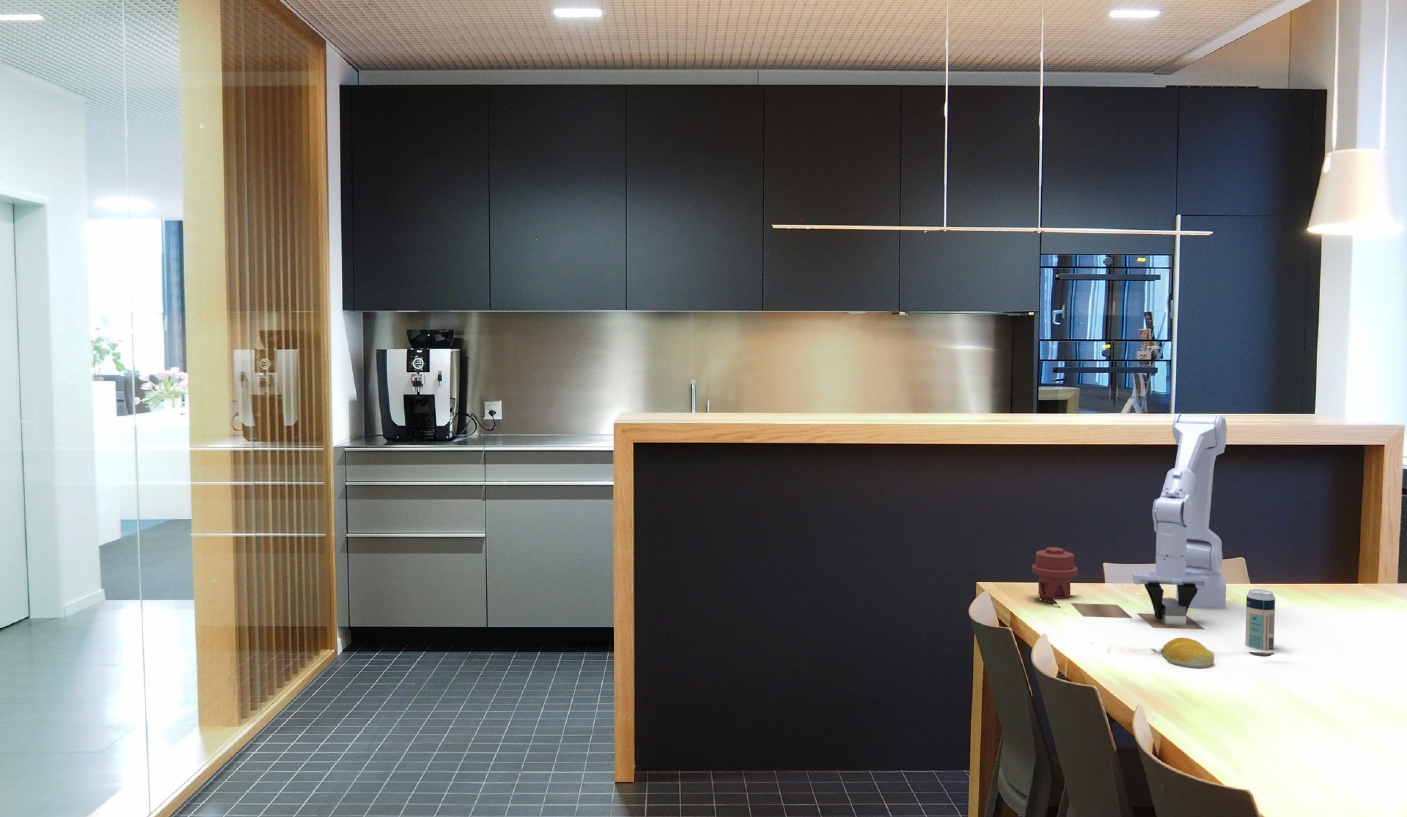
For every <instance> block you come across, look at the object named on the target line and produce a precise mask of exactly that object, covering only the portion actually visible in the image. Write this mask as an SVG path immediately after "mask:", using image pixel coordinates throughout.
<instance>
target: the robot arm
mask: <svg viewBox="0 0 1407 817" xmlns="http://www.w3.org/2000/svg"><path fill="white" fill-rule="evenodd" d="M1227 432H1228V428H1227V420H1226V418H1225V417H1224V416H1223V415H1222V414H1218V415H1212V414H1209V415H1208V414H1185V413H1184V414H1182V413H1177V414H1176V416H1174V418H1173V422H1172V436H1173V438H1174V440H1175V444H1176V445H1177V446H1178V447H1177V453H1176V459H1175V465H1174V468H1171V469H1170V470H1168V471H1167V474H1166V477H1165V479H1164V480H1165V481H1164V482H1163V487H1162V490H1161V493H1160V497H1158V498H1156V499H1154V501H1153V503H1152V504H1153V505H1152V512H1151V513H1152V521H1153V531H1154V532H1156V538H1155V540H1156V541H1155V572H1139V573H1138V572H1137V573H1132V583H1133V584H1134V585H1144V588H1145V589H1146V591H1147V593H1148V596H1149V598H1150V601H1151V604H1152V607H1153V614H1154V613H1155V617H1156V618H1157V619H1161V618H1162V598H1164V597H1163V596H1164V592H1165V590H1164V589H1163V588H1162V585H1170V586H1171V585H1172V586H1176V590H1175V591H1176V592H1175V596H1176V597H1175V599H1176V600H1178V601H1179V602H1180V603H1182V604H1183V605H1184V606H1186V615H1187V613H1188V610H1189V609H1197V610H1198V609H1202V610H1203V609H1217V610H1218V609H1220V610H1222V609H1223V610H1226V607H1227V606H1226V604H1227V602H1226V601H1227V583H1226V579H1225V576H1224V575H1223V574H1222V572H1220V569H1221V567H1222V562H1223V550H1222V546H1223V544H1222V543H1223V542H1222V540H1221V537H1219V535H1217V534H1216V533H1215V532H1214V531H1212V530H1211V529H1210V528H1209V527H1210V518H1211V516H1210V514H1211V506H1212V505H1211V503H1212V492H1213V481H1214V469H1215V468H1214V467H1215V463H1216V462H1215V461H1216V458H1217V456H1218V455H1221V454H1224V453H1225V448H1226V446H1227V445H1226V444H1227ZM1188 540H1190V541H1188ZM1198 541H1199V542H1198ZM1205 542H1206V543H1205ZM1207 542H1208V543H1207Z"/></svg>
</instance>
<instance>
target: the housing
mask: <svg viewBox="0 0 1407 817" xmlns="http://www.w3.org/2000/svg"><path fill="white" fill-rule="evenodd" d="M1153 614H1154V616H1155V613H1154V612H1153ZM1186 615H1187V614H1186V606H1184V605H1183V604H1182V603H1180V602H1179V601H1178V600H1176V597H1175V598H1174V597H1163V598H1162V618H1161V619H1158V620H1159V621H1161V622H1162V623H1163V624H1164V625H1171V626H1186Z"/></svg>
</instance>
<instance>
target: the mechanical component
mask: <svg viewBox="0 0 1407 817" xmlns="http://www.w3.org/2000/svg"><path fill="white" fill-rule="evenodd" d="M1074 562H1075V555H1074V553H1072V552H1069V551H1065V549H1064V548H1061V547H1056V546H1055V547H1051V546H1050V547H1046V549H1042V550H1037V551H1036V552H1035V563H1033V564H1032V566H1031V572H1032V573H1033V574H1034V575H1036V576H1038V585H1037V586H1038V587H1037V588H1038V592H1037V593H1038V595H1039V598H1038V599H1039V600H1040V599H1041V600H1040V601H1044V600H1045V602H1048V601H1050V602H1049V603H1053V604H1054V605H1057V604H1058V602H1056V600H1055V599H1059V600H1060V599H1066V598H1069V597H1071V580H1072V578H1075V577H1076V576H1078V574H1079V573H1078V570H1079V568H1078V567H1077V566H1075V563H1074Z"/></svg>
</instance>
